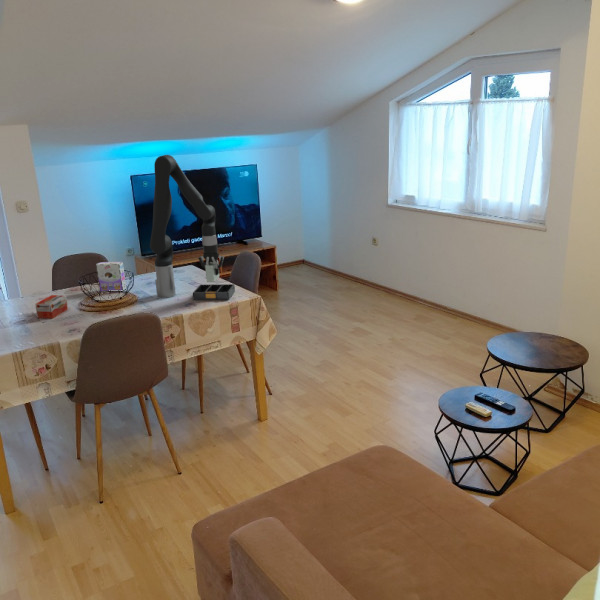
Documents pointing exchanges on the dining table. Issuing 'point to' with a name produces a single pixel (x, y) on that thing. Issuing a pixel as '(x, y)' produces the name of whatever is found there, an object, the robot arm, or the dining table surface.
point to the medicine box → (51, 306)
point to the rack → (214, 292)
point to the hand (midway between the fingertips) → (212, 274)
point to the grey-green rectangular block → (211, 272)
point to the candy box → (111, 276)
